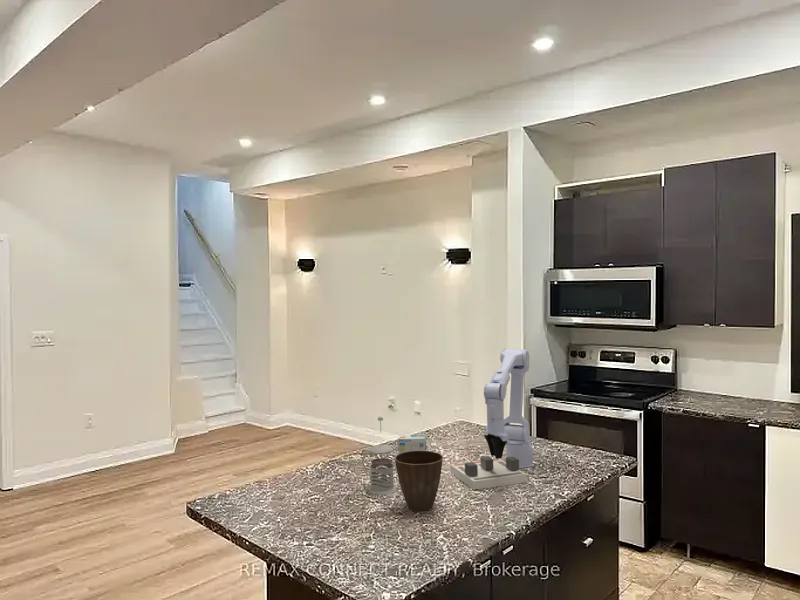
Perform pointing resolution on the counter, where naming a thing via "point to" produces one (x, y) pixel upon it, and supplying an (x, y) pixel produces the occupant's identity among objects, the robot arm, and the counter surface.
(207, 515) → the counter surface
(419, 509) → the plant pot
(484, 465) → the block
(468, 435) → the counter surface
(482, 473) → the breaker panel
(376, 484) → the french press
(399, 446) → the light bulb box
